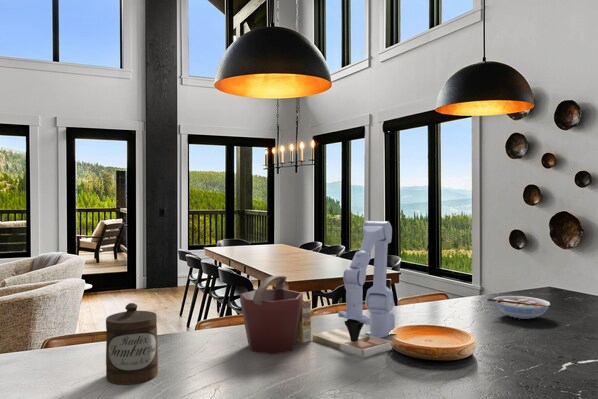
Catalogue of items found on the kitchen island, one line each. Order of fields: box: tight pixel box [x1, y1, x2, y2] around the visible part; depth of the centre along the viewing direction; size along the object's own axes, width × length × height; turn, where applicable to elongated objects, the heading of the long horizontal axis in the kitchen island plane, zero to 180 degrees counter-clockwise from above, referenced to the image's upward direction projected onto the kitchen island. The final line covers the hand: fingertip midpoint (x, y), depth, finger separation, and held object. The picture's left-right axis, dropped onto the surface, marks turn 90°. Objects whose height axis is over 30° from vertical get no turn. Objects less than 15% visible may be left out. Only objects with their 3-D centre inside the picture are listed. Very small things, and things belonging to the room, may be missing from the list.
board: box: [311, 327, 369, 351], centre depth 189 cm, size 15×15×2 cm
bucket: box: [239, 275, 304, 355], centre depth 182 cm, size 24×22×25 cm
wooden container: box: [105, 302, 159, 386], centre depth 154 cm, size 15×15×22 cm
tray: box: [339, 334, 393, 359], centre depth 179 cm, size 15×11×2 cm
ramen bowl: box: [486, 295, 552, 320], centre depth 222 cm, size 25×23×8 cm
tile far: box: [351, 341, 372, 350], centre depth 175 cm, size 5×5×2 cm
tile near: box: [367, 338, 387, 347], centre depth 179 cm, size 5×5×2 cm
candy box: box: [296, 297, 312, 344], centre depth 191 cm, size 9×4×15 cm, turn 33°
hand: (354, 341), depth 178 cm, fingers closed
